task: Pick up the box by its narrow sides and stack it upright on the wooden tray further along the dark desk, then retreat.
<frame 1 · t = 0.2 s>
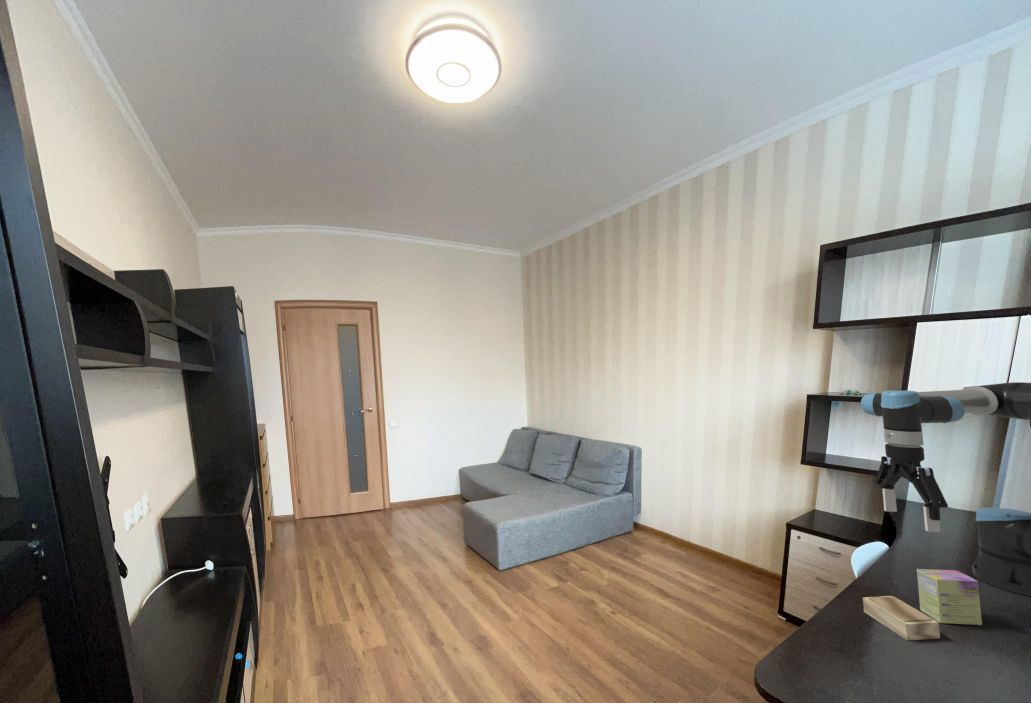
hand: (910, 520, 101), 27 cm above the table, fingers open, 13 cm apart
wooden tray: (900, 624, 98), on the table
box: (950, 618, 100), on the table
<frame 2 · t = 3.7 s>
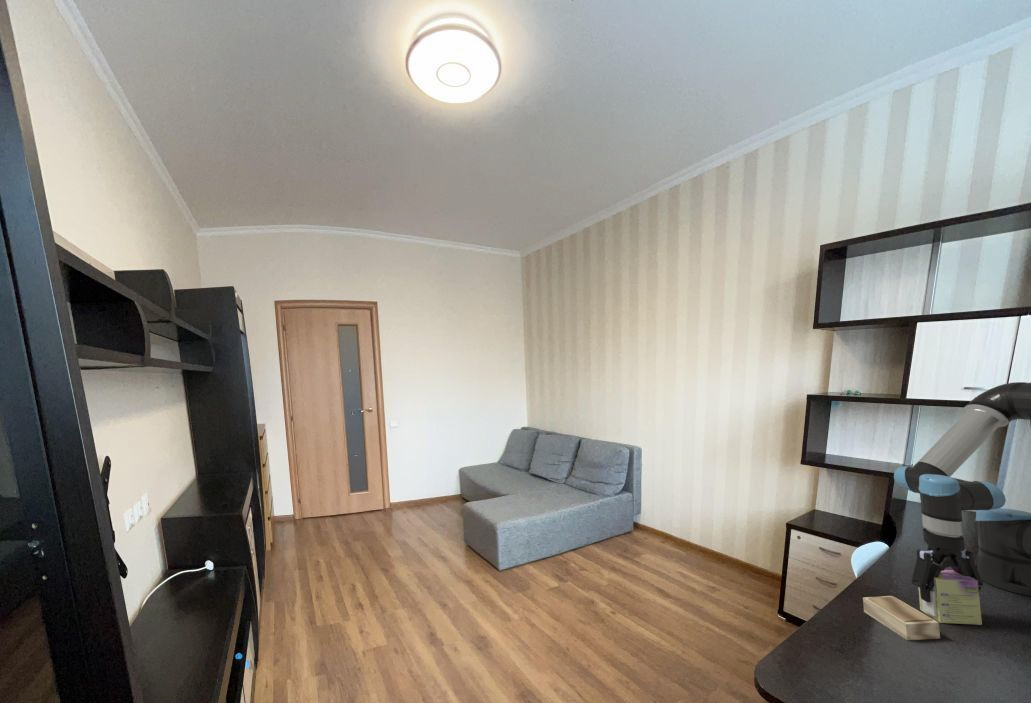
hand: (949, 611, 100), 2 cm above the table, fingers closed on box, 11 cm apart
box: (950, 618, 100), on the table, touching gripper
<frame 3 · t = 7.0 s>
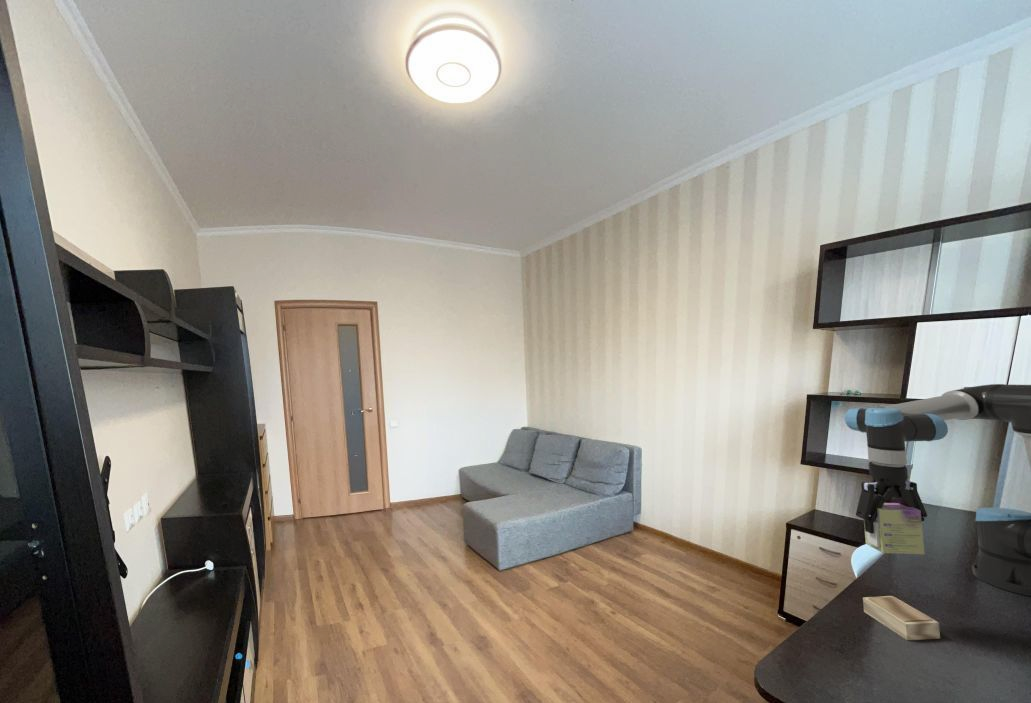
hand: (893, 543, 99), 22 cm above the table, fingers closed on box, 11 cm apart
box: (894, 549, 99), point 20 cm above the table, touching gripper
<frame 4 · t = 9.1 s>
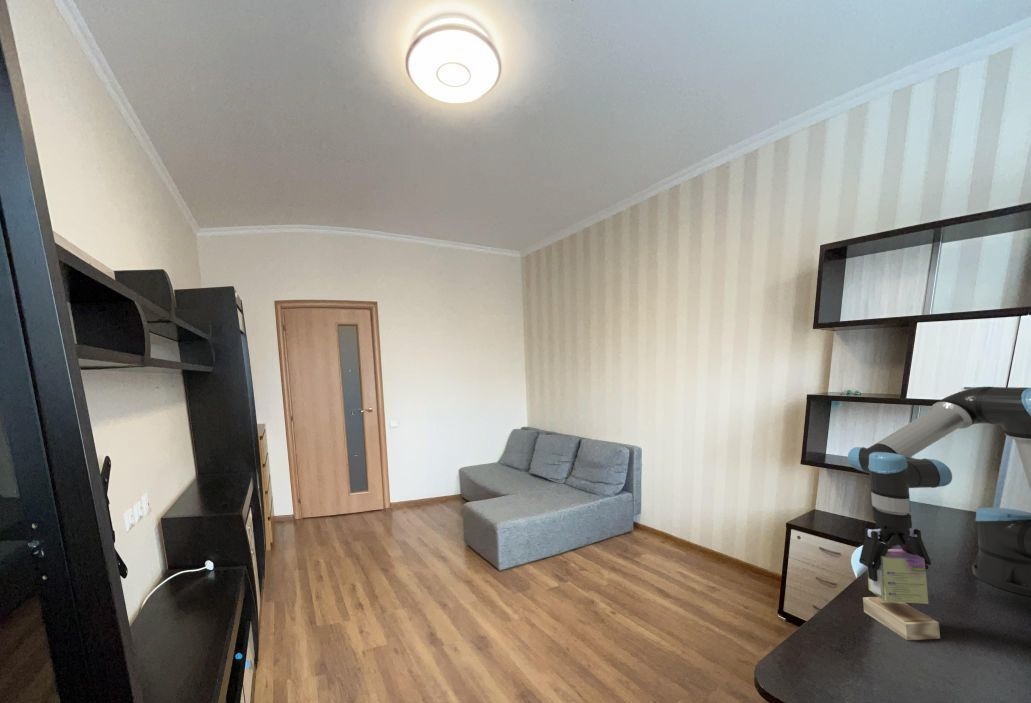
hand: (897, 591, 98), 9 cm above the table, fingers closed on box, 11 cm apart
box: (897, 597, 98), point 7 cm above the table, touching gripper
when the fingers open (6 cm above the table, at t = 10.7 s): box stays where it is, resting on wooden tray.
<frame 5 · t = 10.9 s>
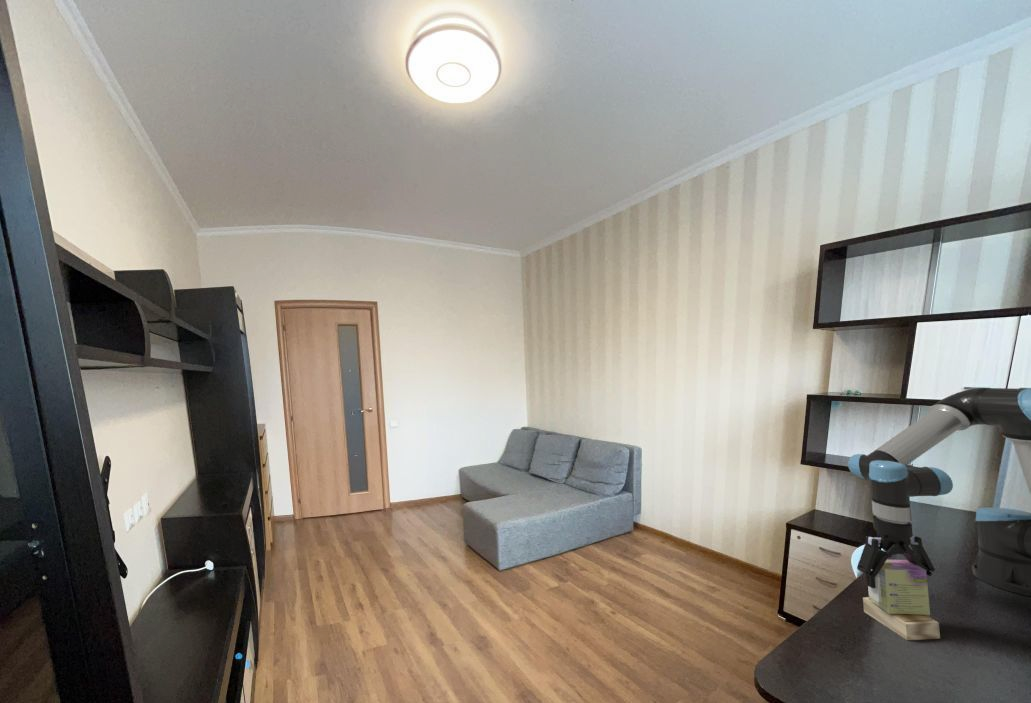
hand: (897, 598, 98), 7 cm above the table, fingers open, 12 cm apart
box: (899, 608, 98), point 4 cm above the table, touching wooden tray
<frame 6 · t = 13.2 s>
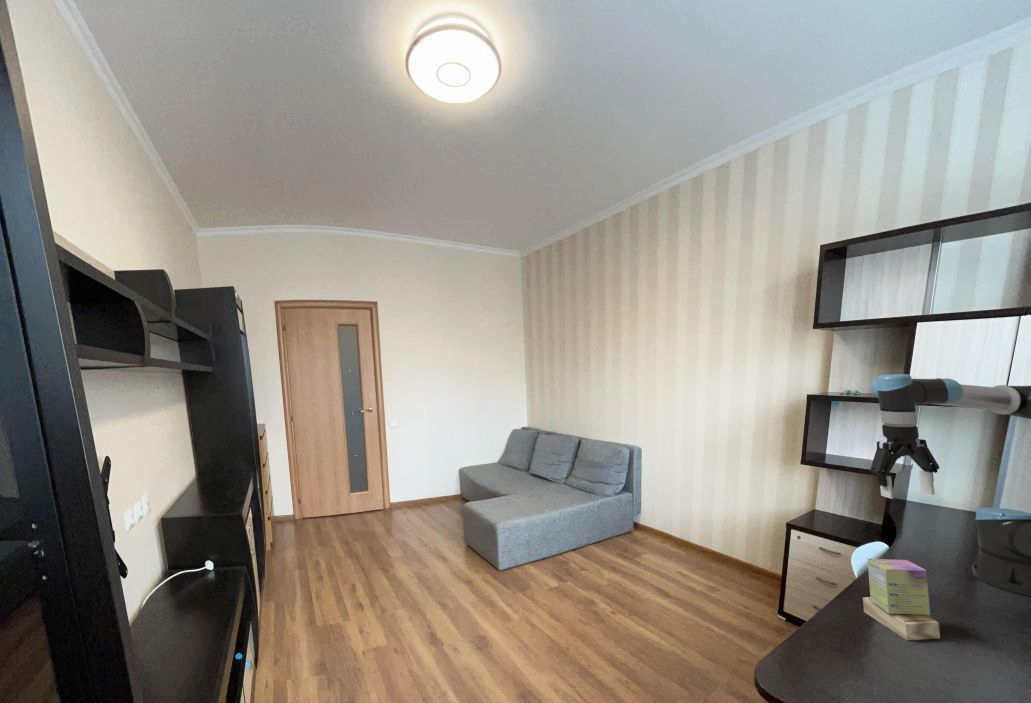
hand: (907, 495, 108), 32 cm above the table, fingers open, 13 cm apart
nothing on the table moved.
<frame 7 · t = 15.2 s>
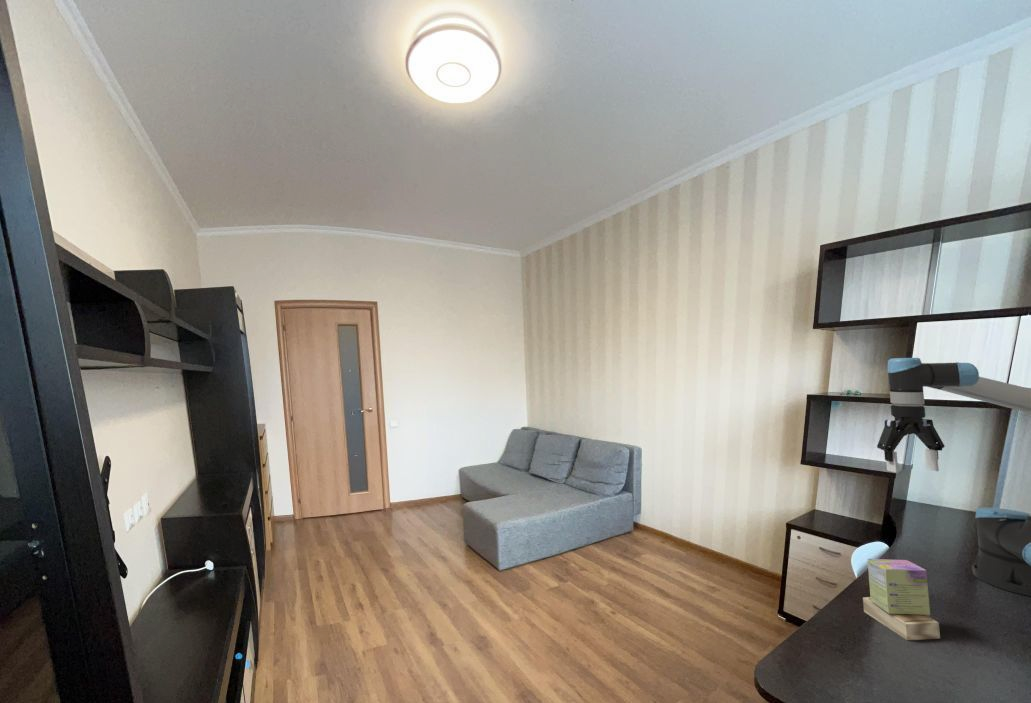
hand: (912, 470, 115), 37 cm above the table, fingers open, 13 cm apart
nothing on the table moved.
at the end: box inside the target area on the wooden tray (0.2 cm from its centre), point 4.1 cm above the wooden tray's base; box tilted 0°; the gripper is holding nothing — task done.
